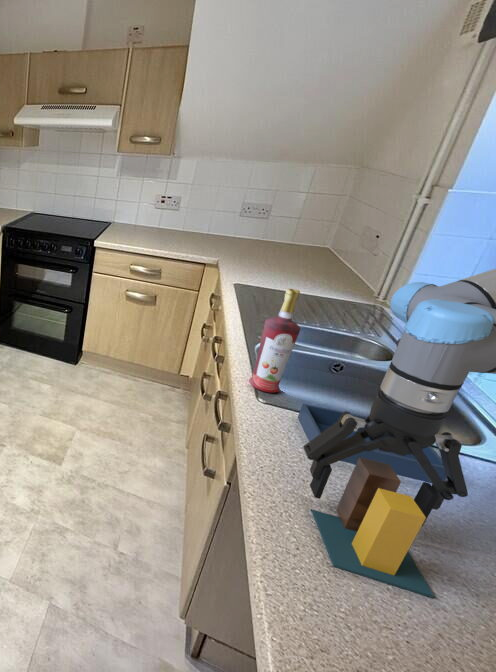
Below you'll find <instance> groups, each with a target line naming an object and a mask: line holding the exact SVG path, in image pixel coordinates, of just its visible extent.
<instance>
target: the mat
mask: <svg viewBox="0 0 496 672" xmlns="http://www.w3.org/2000/svg"><path fill="white" fill-rule="evenodd" d="M310 511H311V514H312V517H313V520H314V522H315V524H316V527H317V529H318V531H319V534H320V537H321V539H322V541H323V545H324V547H325V549H326V552H327V554H328V556H329V557H328V558H329V560H330V562H331V564H332V567H334V568H337V569H339V570H342V571H345V572H348V573H352V574H355V575H358V576H362V577H365V578H368V579H372V580H374V581H377V582H381V583H383V584H387V585H390V586H394V587H396V588H399V589H402V590H406V591H409V592H412V593H415V594H418V595H421V596H424V597H427V598H431V599H434V598H435V595H434V593H433V591H432V590H431V587H430V586H429V584H428V583H427V581H426V579H425V578H424V576H423V574H422V573H421V571H420V569H419V568H418V566H417V564H416V562H415V561H414V559H413V558H412V556H411V554H410V552H409V551H408V552H407V553H406V555H405V557H404V559H403V561H402V563H401V564H400V566H399V568H398V570H397V572H396V573H395V575H391V574H388V573H384V572H381V571H378V570H375V569H371V568H368V567H365V566H362V565H361V563H360V560H359V558H358V556H357V554H356V552H355V550H354V547H353V545H352V542H353V540H354V538H355V536H356V533H357V532H356V531H353V530H349V529H346V528H344V526H343V524H342V522H341V519H340V517H339V516H336V515H333V514H329V513H326V512H323V511H320V510H315V509H312V508H310Z"/></svg>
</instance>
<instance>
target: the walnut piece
mask: <svg viewBox="0 0 496 672" xmlns="http://www.w3.org/2000/svg"><path fill="white" fill-rule="evenodd" d="M401 483H402V481H401V479H400V477H399V475H396V473H395V472H394V471H393V469H392V468H391V466H390V465H389V464H386V463H382V462H378V461H374V460H370V459H365V458H361V457H359V459H358V461H357V463H356V465H354V468H353V470H352V472H351V475H350V477H349V479H348V482H347V484H346V486H345V488H344V490H343V493H342V495H341V498H340V499H339V502H338V504H337V507H336V509H335V510H336V513H337V515H338V517H340V519H341V522H342V524H343V526H344V528H346V529H349V530H353V531H356V532H357V531H358V529H359V527H360V525H361V523H362V521H363V519H364V517H365V515H366V513H367V510H368V508H369V506H370V504H371V502H372V500H373V498H374V496H375V494H376V492H377V490H378V488H380V489H384V490H388V491H392V492H396V493H397V492H398V489H399V487H400V485H401Z"/></svg>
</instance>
